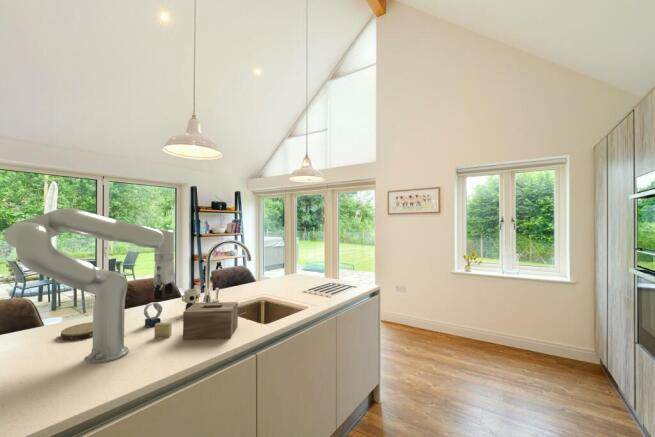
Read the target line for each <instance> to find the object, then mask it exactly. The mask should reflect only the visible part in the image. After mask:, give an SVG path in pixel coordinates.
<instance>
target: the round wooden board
mask: <svg viewBox="0 0 655 437" xmlns="http://www.w3.org/2000/svg"><path fill="white" fill-rule="evenodd" d="M60 339H61V341H64V342H65V341H67V342H74V341H82V340H87V339H93V321H91V322H90V321H89V322H83V323H80V324H75V325H72V326H68V327H66V328H63V329H62V330H61V331H60Z"/></svg>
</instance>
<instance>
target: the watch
mask: <svg viewBox="0 0 655 437" xmlns="http://www.w3.org/2000/svg"><path fill="white" fill-rule="evenodd" d="M152 305H153V308H154V309H155V310H156V311H157V313H156V315H154V316H150V315H149V313H148V309H149V308H150V307H151V306H152ZM162 312H163V306H162V305H161V304H160V303H159V302H154V301H153V302H149V303H148V304H146V305H145V306H144V309H143V315H144V317H145V319H144V326H145V327H148V328H155V324H156V323H161V320H162V319H161V318H159V317H160V316H161V315H162Z"/></svg>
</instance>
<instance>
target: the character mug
mask: <svg viewBox="0 0 655 437" xmlns="http://www.w3.org/2000/svg"><path fill="white" fill-rule="evenodd" d="M200 298H201V291H199V289H198V288H190V289H186V290H184V294H183V295H182V296H181V301H182V302H184V303H185V309H184V311H185V310H186V309H188V308H189V307H190V306H192V305H193V304H194V303H198V301H199V299H200Z"/></svg>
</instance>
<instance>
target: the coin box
mask: <svg viewBox="0 0 655 437" xmlns="http://www.w3.org/2000/svg"><path fill="white" fill-rule="evenodd" d="M238 306H239V302H238V301H226V302H225V301H224V302H221V301H220V302H216V301H215V302H196V303H194V304H193V305H192V306H190V307H189V308H188V309H186V310H185V309H184V311H183V314H182V319H183V320H182V333H183V334H182V340H185V341H187V340H189V341H190V340H213V339H216V338H221V339H231V338H232V337H233V335H234V334H233V333H235V332H236V330H237V328H238V326H239V325H238V323H239V322H238V321H239V320H238V319H239V318H238V317H239V314H238V312H239V307H238Z"/></svg>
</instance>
